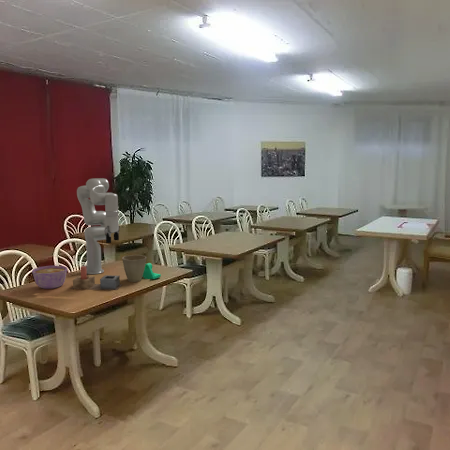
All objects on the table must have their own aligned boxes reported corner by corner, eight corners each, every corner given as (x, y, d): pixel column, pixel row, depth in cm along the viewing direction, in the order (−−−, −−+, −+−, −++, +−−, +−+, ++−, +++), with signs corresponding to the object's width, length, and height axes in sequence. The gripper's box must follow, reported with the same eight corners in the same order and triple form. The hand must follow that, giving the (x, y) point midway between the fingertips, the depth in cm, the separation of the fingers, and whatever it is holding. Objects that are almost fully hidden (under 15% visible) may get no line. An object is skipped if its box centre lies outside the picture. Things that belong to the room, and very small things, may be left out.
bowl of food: (75, 286, 285) (74, 268, 283) (48, 294, 268) (47, 275, 266) (53, 281, 295) (52, 264, 293) (25, 289, 278) (24, 270, 276)
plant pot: (122, 285, 288) (121, 260, 286) (123, 279, 303) (122, 255, 300) (146, 284, 291) (146, 259, 288) (146, 278, 305) (146, 254, 303)
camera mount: (161, 278, 307) (161, 263, 305) (153, 280, 301) (152, 265, 299) (148, 275, 314) (148, 260, 312) (140, 277, 308) (139, 262, 306)
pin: (80, 286, 280) (79, 267, 279) (83, 285, 283) (82, 266, 282) (84, 287, 279) (84, 267, 278) (88, 285, 282) (87, 266, 281)
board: (70, 290, 276) (70, 288, 276) (78, 285, 288) (78, 283, 288) (117, 292, 274) (117, 290, 274) (122, 286, 286) (122, 284, 286)
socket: (100, 289, 276) (100, 279, 275) (105, 284, 285) (104, 275, 284) (115, 289, 276) (115, 279, 275) (119, 285, 285) (119, 275, 284)
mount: (73, 288, 277) (72, 280, 276) (78, 284, 286) (78, 276, 285) (89, 288, 277) (89, 280, 276) (94, 284, 286) (94, 276, 285)
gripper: (113, 212, 294) (113, 238, 297) (99, 215, 278) (99, 243, 280) (123, 212, 292) (124, 239, 295) (110, 215, 276) (111, 244, 278)
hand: (112, 241), depth 288 cm, fingers open, 9 cm apart
